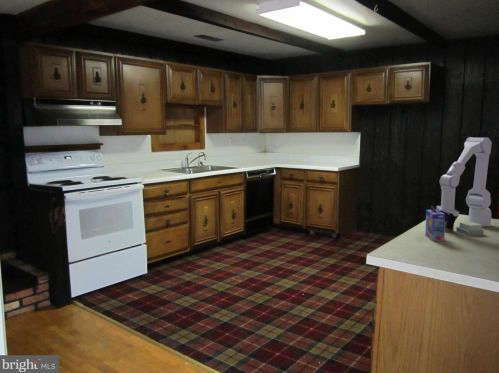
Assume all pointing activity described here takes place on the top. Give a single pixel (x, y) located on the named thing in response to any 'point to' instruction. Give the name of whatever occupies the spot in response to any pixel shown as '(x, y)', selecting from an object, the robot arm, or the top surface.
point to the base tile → (469, 232)
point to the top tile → (470, 226)
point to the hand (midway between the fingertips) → (446, 227)
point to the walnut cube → (448, 229)
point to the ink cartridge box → (435, 225)
